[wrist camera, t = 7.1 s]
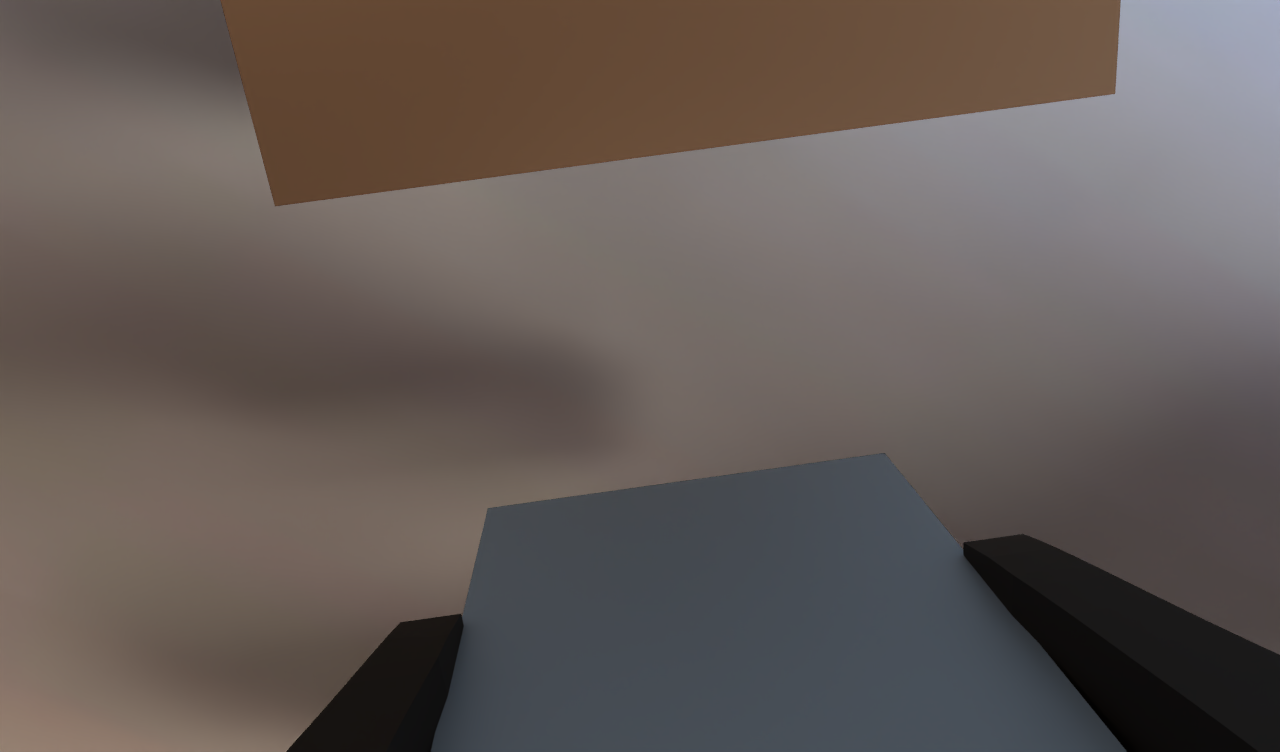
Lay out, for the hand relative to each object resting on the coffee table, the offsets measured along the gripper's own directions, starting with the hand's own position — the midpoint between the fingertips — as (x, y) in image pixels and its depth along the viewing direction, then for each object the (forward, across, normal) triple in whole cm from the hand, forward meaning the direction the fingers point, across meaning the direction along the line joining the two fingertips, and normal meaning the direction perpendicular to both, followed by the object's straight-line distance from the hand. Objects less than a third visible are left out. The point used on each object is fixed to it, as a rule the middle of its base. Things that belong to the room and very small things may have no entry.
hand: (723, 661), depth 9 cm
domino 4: (+6, 0, -6) cm, 8 cm away
